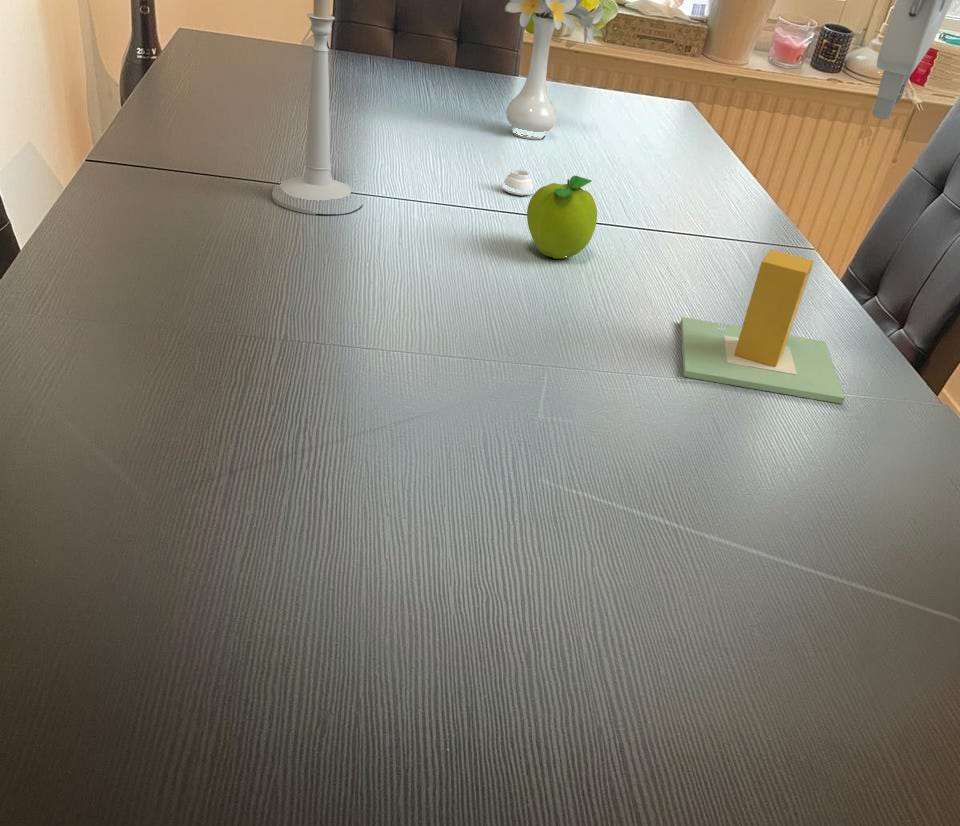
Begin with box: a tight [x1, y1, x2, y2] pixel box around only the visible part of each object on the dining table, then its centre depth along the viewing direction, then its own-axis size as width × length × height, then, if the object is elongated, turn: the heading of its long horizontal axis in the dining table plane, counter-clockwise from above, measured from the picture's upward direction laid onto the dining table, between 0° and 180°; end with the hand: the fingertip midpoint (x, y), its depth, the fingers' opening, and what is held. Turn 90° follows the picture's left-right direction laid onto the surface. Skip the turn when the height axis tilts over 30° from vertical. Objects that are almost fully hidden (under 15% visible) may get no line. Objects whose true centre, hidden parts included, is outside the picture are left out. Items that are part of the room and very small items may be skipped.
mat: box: [680, 316, 845, 405], centre depth 120 cm, size 18×16×1 cm
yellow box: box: [734, 249, 814, 367], centre depth 116 cm, size 5×5×11 cm
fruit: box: [526, 175, 598, 260], centre depth 137 cm, size 9×9×10 cm
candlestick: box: [271, 0, 351, 216], centre depth 136 cm, size 13×13×30 cm
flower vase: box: [504, 0, 606, 141], centre depth 181 cm, size 13×18×25 cm
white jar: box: [501, 169, 535, 197], centre depth 160 cm, size 5×3×5 cm
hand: (885, 109), depth 107 cm, fingers open, 8 cm apart
